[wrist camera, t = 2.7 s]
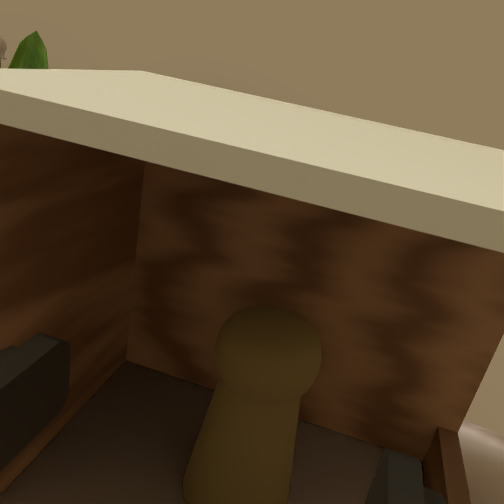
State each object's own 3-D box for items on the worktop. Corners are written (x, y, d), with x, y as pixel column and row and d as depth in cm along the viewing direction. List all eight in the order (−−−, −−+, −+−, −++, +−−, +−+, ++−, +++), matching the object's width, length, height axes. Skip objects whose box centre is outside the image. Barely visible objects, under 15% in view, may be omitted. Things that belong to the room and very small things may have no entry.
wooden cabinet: (-50, 516, 22) (-93, 66, 14) (119, 346, 36) (143, 70, 28) (477, 746, 18) (818, 286, 10) (439, 454, 32) (571, 164, 24)
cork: (159, 492, 25) (185, 318, 21) (222, 429, 30) (254, 278, 26) (253, 562, 23) (304, 381, 19) (306, 481, 28) (356, 323, 24)
